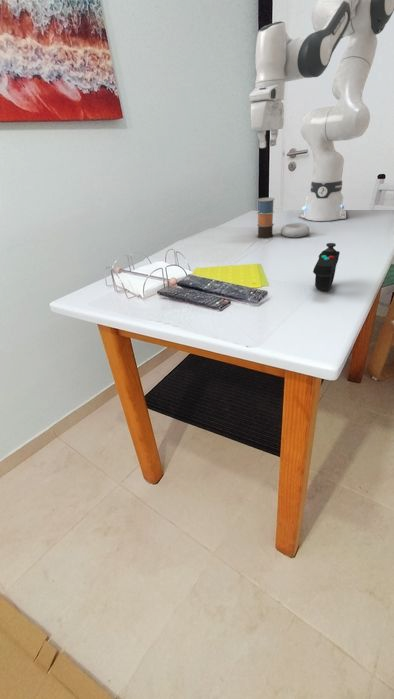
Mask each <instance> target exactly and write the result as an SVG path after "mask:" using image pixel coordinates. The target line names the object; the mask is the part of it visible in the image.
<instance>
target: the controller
mask: <svg viewBox="0 0 394 699" xmlns="http://www.w3.org/2000/svg"><path fill="white" fill-rule="evenodd" d="M325 246H326V247H327V248H326V249H324V250H322V251H321V252H320V254H319V255H318V259H317V261H316V263H315V265H314V268H313V270H312V273H313V274H314V275H315V277H314V283H315V284H314V286H315V288H316V289H317V290H318V291H330V290H331V289H332V286H333V284H334V283H333V282H334V278H335V275H336V270H337V265H338V261H339V257H340V253H341V252H340V251H338V250H336V249H335V248H334V247H336V246H337V244H336V243H335V242H327V243H326V244H325Z"/></svg>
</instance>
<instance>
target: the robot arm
mask: <svg viewBox="0 0 394 699" xmlns="http://www.w3.org/2000/svg"><path fill="white" fill-rule="evenodd" d="M393 14H394V0H315V2H314V4H313V6H312V10H311V25H312V28H313V30H314V32H312V33H310V34H307V35H304V36H300V37H297V38H294V39H293V38H292V37H291V36H290V35H289V34H288V32H287V28H286V23H285V22H284V21H275V22H272V23H269V24H267V25H264V26H262V27H260V29H259V30H258V32H257V35H256V43H255V57H254V58H255V59H254V62H255V63H254V64H255V65H254V66H255V71H256V75H255V76H256V77H255V81H254V89H253V90H252V91H251V92H250V93H249V98H248V99H249V102H250V103H251V104H250V127H251V130H252V132H257V138H258V142H259V145H258V146H259V149H265V148H267V140H266V134H267V131H270V139H269V147H275V146H276V145H277V139H278V135H279V130H282V129H283V128H284V126H285V125H284V124H285V105H284V102H283V101H284V100H285V88H286V86H285V85H286V82H293V81H297V80H303V79H310V78H318V77H320V76H321V75H323V73H325V71H326V69H327V68H328V66H329V63H330V61H331V58H332V55H333V53H334V52H335V49H336V48H337V46H338V45H339V43H340V42H341V40H342V39H343V38H346V37H349V41H348V44H347V46H346V49H345V50H344V53H343V55H342V57H341V60H340V62H339V65H338V67H337V70H336V73H335V76H334V79H333V81H332V85H331V92H332V95H333V97H334V98H335V99H336V100H338V103H337V104H336V105H334V106H326V107H320V108H316V109H313V110H311V111H309V112H307V113H306V114H304V116H303V119H302V121H301V125H300V134H301V137H302V138H303V139H304V141H306V143H307V144H308V145H309V148H310V150H311V154H312V158H313V171H312V172H313V173H312V181H311V183H310V193H309V194H308V195H307V196H306V198H305V205H304V206H302V208H301V209H302V211H303V210H304V211H303V213H301V214H300V216H299V217H300V218H302V219H306V220H308V221H315V222H328V221H329V222H330V221H331V222H332V221H337V220H344V219H347V210H346V209H345V205H343V202H344V195H343V194H342V190H343V180H342V178H343V172H344V166H345V165H344V164H345V160H344V156H343V155H342V154H341V153H339V152H338V151H337V150H336V149H335V145H334V144H335V143H334V142H339V141H340V142H342V141H351V140H353V139H356V138H360V137H362V135H364V134H365V133H366V131H367V129H368V128H369V125H370V123H371V122H370V121H371V112H370V110H369V108H368V107H367V105H366V104H365V103H364V101H363V92H364V88H365V86H366V83H367V79H368V77H369V74H370V71H371V69H372V66H373V64H374V63H373V62H374V59H375V55H376V51H377V46H378V37H377V35H379V34H381V32H383V30H384V29H385V27H386V25H387V24H388V22H389V21H390V19H391V17H392V15H393Z"/></svg>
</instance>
